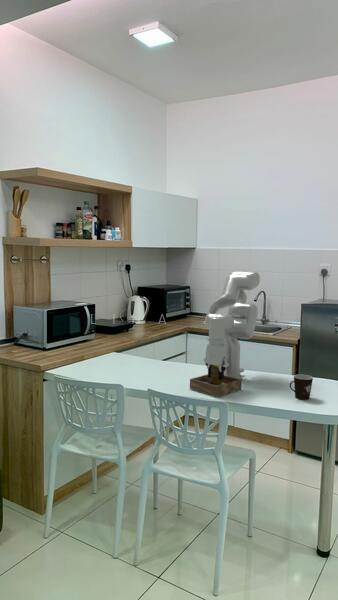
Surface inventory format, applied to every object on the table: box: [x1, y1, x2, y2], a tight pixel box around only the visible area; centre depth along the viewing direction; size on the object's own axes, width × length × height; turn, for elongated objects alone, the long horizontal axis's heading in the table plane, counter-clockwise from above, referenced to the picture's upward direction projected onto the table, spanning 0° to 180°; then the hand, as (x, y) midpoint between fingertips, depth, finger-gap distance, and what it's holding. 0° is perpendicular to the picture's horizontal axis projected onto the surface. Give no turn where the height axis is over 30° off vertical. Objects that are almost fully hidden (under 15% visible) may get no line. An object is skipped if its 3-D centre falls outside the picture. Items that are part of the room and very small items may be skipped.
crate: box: [189, 373, 243, 398], centre depth 225 cm, size 18×18×5 cm
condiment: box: [205, 365, 226, 386], centre depth 225 cm, size 7×8×12 cm
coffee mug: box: [289, 373, 314, 401], centre depth 213 cm, size 12×9×10 cm
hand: (215, 377), depth 225 cm, fingers closed on condiment, 6 cm apart
